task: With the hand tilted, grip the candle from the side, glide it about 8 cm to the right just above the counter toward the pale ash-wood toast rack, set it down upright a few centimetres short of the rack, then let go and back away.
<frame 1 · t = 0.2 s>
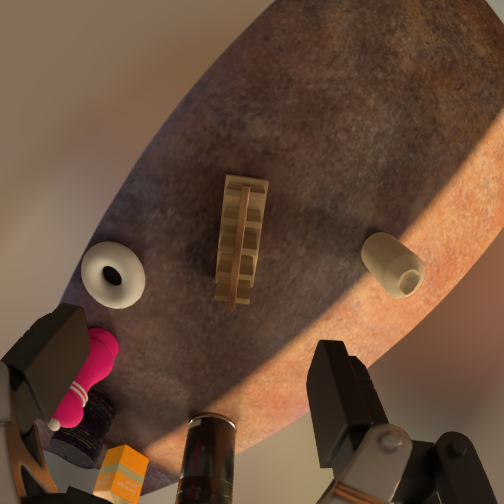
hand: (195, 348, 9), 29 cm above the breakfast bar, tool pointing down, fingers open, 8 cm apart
pepper mill: (103, 341, 46), on the breakfast bar
storage jar: (96, 401, 52), on the breakfast bar
donut: (117, 270, 41), on the breakfast bar
orange juice: (128, 454, 59), on the breakfast bar
toast rack: (240, 231, 39), on the breakfast bar
candle: (378, 250, 40), on the breakfast bar
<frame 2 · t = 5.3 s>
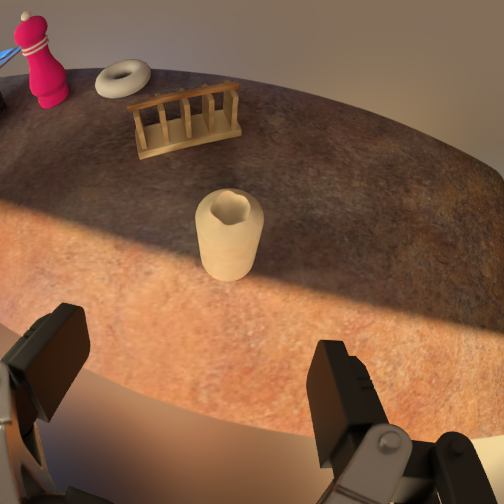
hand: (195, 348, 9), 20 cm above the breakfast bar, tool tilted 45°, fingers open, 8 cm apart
pepper mill: (55, 98, 42), on the breakfast bar
donut: (124, 86, 43), on the breakfast bar
toast rack: (187, 134, 39), on the breakfast bar
candle: (227, 258, 32), on the breakfast bar
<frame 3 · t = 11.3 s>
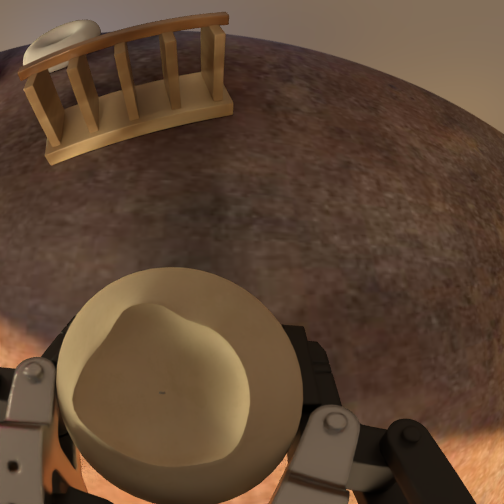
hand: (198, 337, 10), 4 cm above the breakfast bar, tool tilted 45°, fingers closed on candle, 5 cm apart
donut: (64, 57, 25), on the breakfast bar
toast rack: (135, 115, 20), on the breakfast bar
candle: (200, 385, 14), on the breakfast bar, touching gripper
when the fingers open (4 cm above the breakfast bar, at t = 15.5 s): candle stays where it is, on the breakfast bar.
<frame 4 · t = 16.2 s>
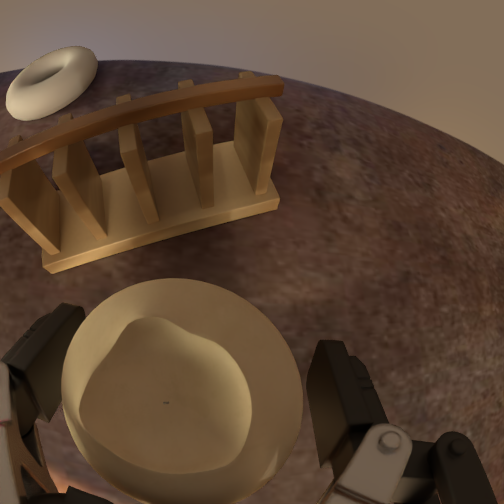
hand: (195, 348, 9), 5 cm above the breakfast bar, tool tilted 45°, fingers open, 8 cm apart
donut: (55, 94, 22), on the breakfast bar
toast rack: (151, 205, 17), on the breakfast bar
candle: (202, 388, 14), on the breakfast bar
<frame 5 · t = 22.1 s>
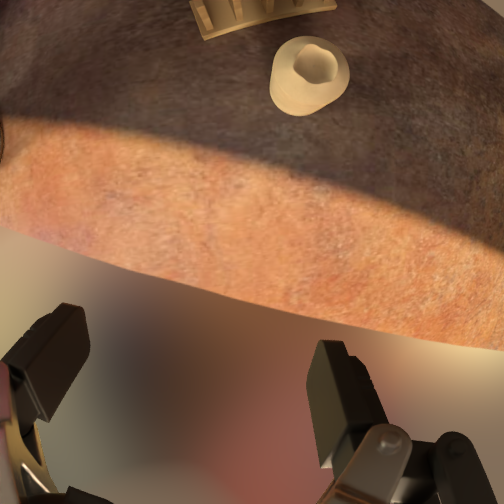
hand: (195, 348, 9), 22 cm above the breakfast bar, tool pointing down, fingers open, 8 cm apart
toast rack: (263, 3, 23), on the breakfast bar
candle: (297, 90, 26), on the breakfast bar
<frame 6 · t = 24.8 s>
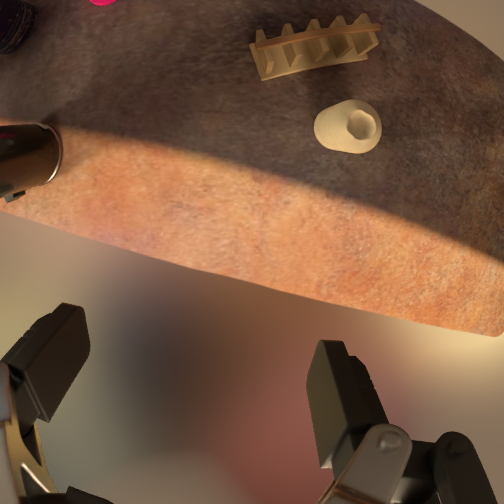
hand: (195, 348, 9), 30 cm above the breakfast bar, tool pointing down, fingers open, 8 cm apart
storage jar: (17, 29, 27), on the breakfast bar
toast rack: (309, 51, 31), on the breakfast bar
candle: (334, 128, 35), on the breakfast bar
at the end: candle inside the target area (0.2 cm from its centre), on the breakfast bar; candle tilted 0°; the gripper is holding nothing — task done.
